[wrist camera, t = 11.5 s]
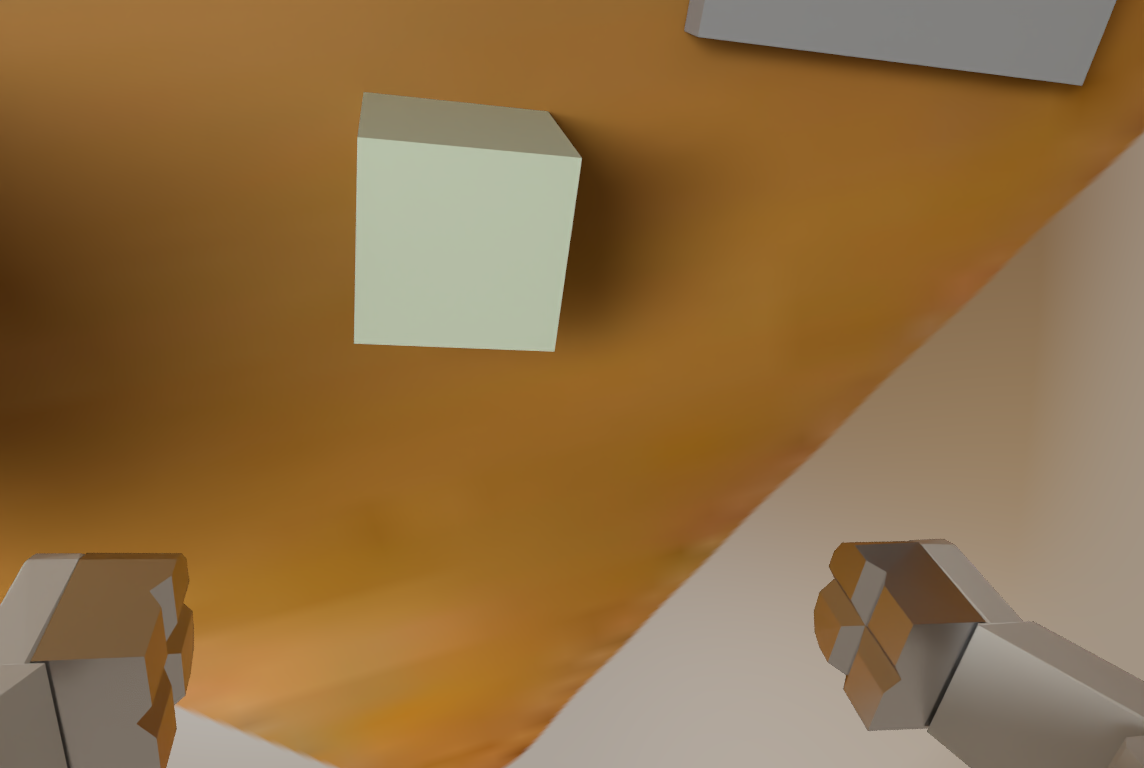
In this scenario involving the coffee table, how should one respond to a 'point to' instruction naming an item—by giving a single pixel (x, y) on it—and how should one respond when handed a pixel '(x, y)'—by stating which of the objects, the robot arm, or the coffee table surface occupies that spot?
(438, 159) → the sage green block
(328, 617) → the coffee table surface
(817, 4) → the baseplate
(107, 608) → the robot arm
